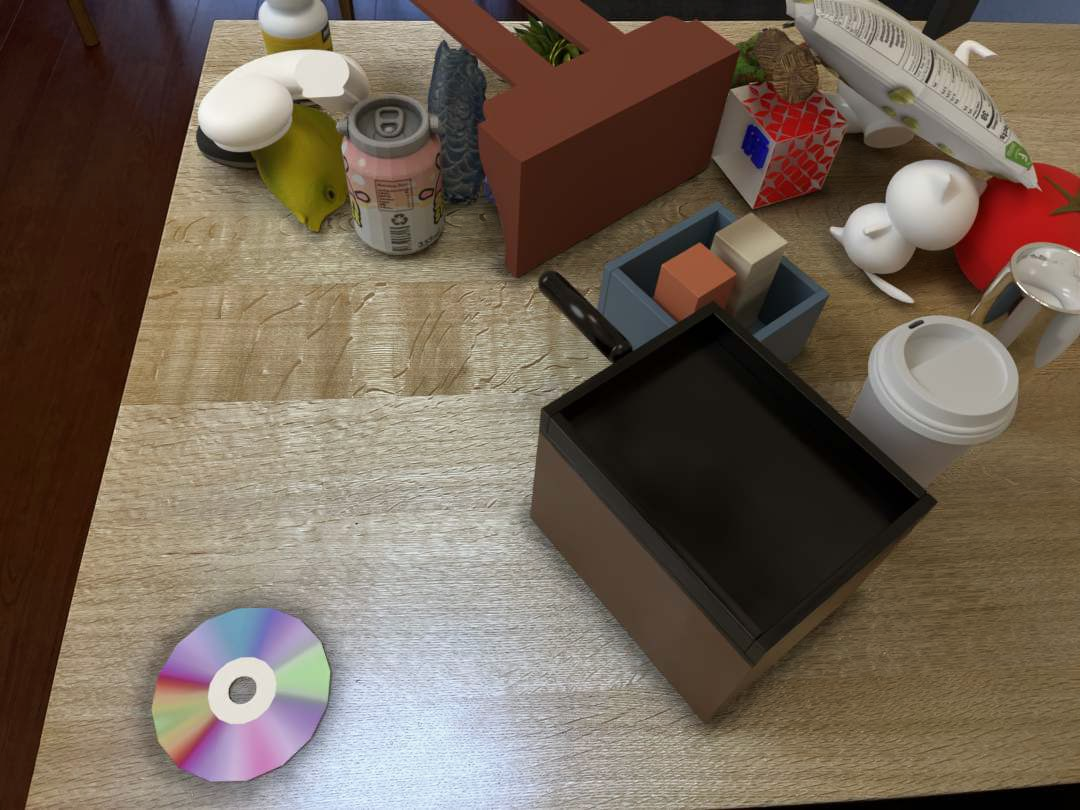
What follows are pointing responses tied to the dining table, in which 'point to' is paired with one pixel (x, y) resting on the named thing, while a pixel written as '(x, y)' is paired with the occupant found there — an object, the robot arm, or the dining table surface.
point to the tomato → (1020, 221)
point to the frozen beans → (912, 82)
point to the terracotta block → (693, 282)
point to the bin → (637, 271)
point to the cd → (256, 726)
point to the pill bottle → (295, 27)
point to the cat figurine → (911, 219)
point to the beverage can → (394, 173)
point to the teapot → (876, 122)
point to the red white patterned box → (776, 143)
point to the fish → (306, 166)
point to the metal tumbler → (1033, 305)
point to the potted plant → (547, 43)
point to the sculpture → (277, 96)
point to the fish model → (458, 120)
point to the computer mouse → (226, 153)
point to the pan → (711, 497)
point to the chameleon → (777, 64)
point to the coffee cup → (935, 393)
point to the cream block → (749, 264)
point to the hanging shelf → (589, 118)
